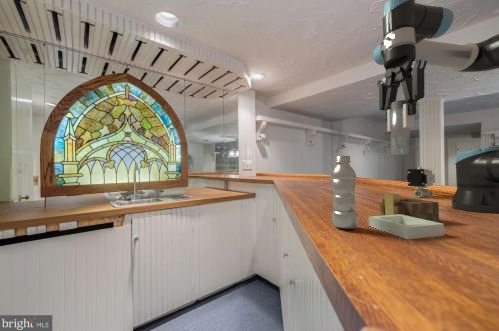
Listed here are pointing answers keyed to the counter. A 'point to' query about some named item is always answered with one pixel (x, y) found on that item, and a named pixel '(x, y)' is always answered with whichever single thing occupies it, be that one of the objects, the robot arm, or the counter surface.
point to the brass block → (391, 202)
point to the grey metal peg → (399, 130)
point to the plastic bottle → (344, 194)
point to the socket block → (415, 209)
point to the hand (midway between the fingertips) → (400, 129)
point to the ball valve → (421, 181)
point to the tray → (407, 226)
